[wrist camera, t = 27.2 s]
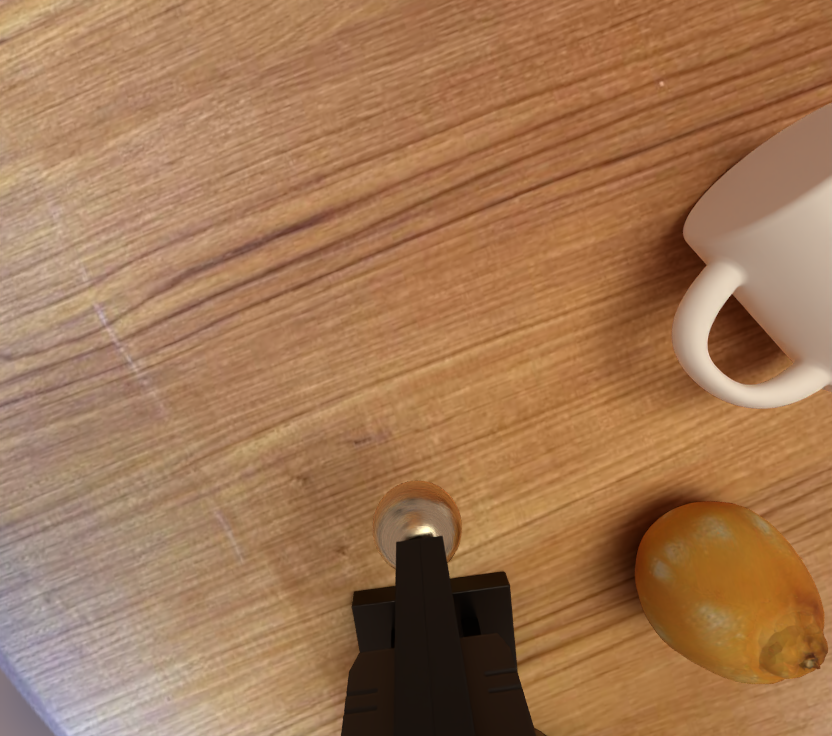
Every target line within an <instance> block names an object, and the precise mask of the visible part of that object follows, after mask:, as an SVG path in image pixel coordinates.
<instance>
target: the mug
mask: <svg viewBox="0 0 832 736" xmlns="http://www.w3.org/2000/svg"><path fill="white" fill-rule="evenodd" d="M683 236H684V239H685V241H686V242H687V243H688V245H689V246H690V247H691V248H692V249H693V250H694V251H695V252H696V254H697V255H698V256H699V257H700V258H701V259H702V260H703V262H704V263H705V264H706V265H707V266H706V267H705V268H704V269H703V270H702V272H701V273H700V274H699V275H698V277H697V278H696V279H695V280H694V282H693V283H692V284H691V286H690V287H689V289H688V290H687V292H686V293H685V295H684V297H683V298H682V300H681V302H680V304H679V306H678V309H677V311H676V314H675V317H674V321H673V326H672V343H673V348H674V352H675V354H676V357H677V359H678V361H679V363H680V364H681V366H682V368H683V369H684V370H685V372H686V373H687V374H688V375H689V376H690V377H691V378H692V379H693V380H694V381H695V382H696V383H697V384H698V385H699V386H700V387H702V388H703V389H704V390H706V391H707V392H709V393H710V394H712V395H714V396H715V397H717V398H719V399H721V400H723V401H726V402H728V403H731V404H734V405H737V406H741V407H747V408H756V409H766V408H776V407H781V406H785V405H789V404H792V403H794V402H797V401H800V400H802V399H804V398H806V397H808V396H810V395H812V394H813V393H815V392H817V391H819V390H820V389H824V390H827V391H829V392H832V103H830V104H828V105H826V106H824V107H822V108H820V109H818V110H816V111H814V112H812V113H810V114H809V115H807V116H805V117H803V118H802V119H800V120H798V121H797V122H795V123H793V124H792V125H790V126H788V127H787V128H785V129H784V130H782V131H781V132H779V133H778V134H776V135H775V136H773V137H772V138H770V139H769V140H767V141H766V142H764V143H763V144H762V145H760V146H759V147H757V148H756V149H755V150H753V151H752V152H751V153H749V154H748V155H747V156H746V157H744V158H743V159H742V160H740V161H739V162H738V163H737V164H736V165H734V166H733V167H732V168H731V169H730V170H729V171H727V172H726V173H725V174H724V175H723V176H722V177H721V178H720V179H719V180H718V181H717V182H715V183H714V184H713V185H712V186H711V188H710V189H709V190H708V191H707V192H706V193H705V194H704V195H703V196H702V197H701V198H700V200H699V201H698V202H697V203H696V205H695V206H694V208H693V209H692V210H691V212H690V214H689V215H688V217H687V219H686V222H685V224H684V228H683ZM731 294H733V295H734V297H735V298H736V299H737V300H738V301H739V302H740V303H741V305H742V306H743V307H744V308H745V309H746V310H747V311H748V312H749V314H750V315H751V316H752V317H753V318H754V319H755V320H756V321H757V323H758V324H759V325H760V326H761V327H762V328H763V329H764V331H765V332H766V333H767V334H768V335H769V336H770V337H771V338H772V340H773V341H774V342H775V343H776V344H777V345H778V346H779V348H780V349H781V350H782V351H783V352H784V353H785V354H786V355H787V357H788V358H789V359H790V360H791V361H792V362H793V364H792V365H791V366H790V367H788V368H787V369H786V370H784V371H783V372H782V373H780V374H779V375H777V376H775V377H774V378H772V379H770V380H768V381H765V382H763V383H759V384H754V385H746V384H741V383H738V382H736V381H734V380H732V379H730V378H729V377H727V376H726V375H725V374H723V373H722V372H721V371H720V370H719V369H718V368H717V367H716V366H715V365H714V363H713V362H712V360H711V358H710V356H709V353H708V348H707V341H708V335H709V332H710V328H711V326H712V324H713V321H714V319H715V317H716V316H717V314H718V312H719V311H720V309H721V308H722V306H723V305H724V303H725V302H726V301H727V299H728V298H729V297H730V296H731Z"/></svg>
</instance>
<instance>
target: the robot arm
mask: <svg viewBox="0 0 832 736" xmlns="http://www.w3.org/2000/svg"><path fill="white" fill-rule="evenodd" d="M341 736H536V733H535V730H534V726H533V723H532V719H531V716H530V713H529V709H528V706H527V703H526V699H525V696H524V692H523V689H522V687H521V682H520V679H519V676H518V672H517V669H516V665H515V662H514V659H513V655H512V652H511V649H510V647H509V646H508V645H507V644H506V643H505V641H504V640H503V639H502V638H501V637H500V635H499V634H498V633H492V634H485V635H477V636H470V637H462V638H459V631H458V625H457V619H456V613H455V607H454V601H453V595H452V589H451V583H450V577H449V571H448V565H447V559H446V553H445V546H444V540H443V536H436V537H428V538H420V539H413V540H405V541H398V542H396V582H395V648H391V649H383V650H376V651H368V652H361V653H359V655H358V656H357V658H356V660H355V662H354V664H353V666H352V667H351V669H350V671H349V677H348V685H347V697H346V701H345V708H344V716H343V724H342V732H341Z"/></svg>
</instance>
